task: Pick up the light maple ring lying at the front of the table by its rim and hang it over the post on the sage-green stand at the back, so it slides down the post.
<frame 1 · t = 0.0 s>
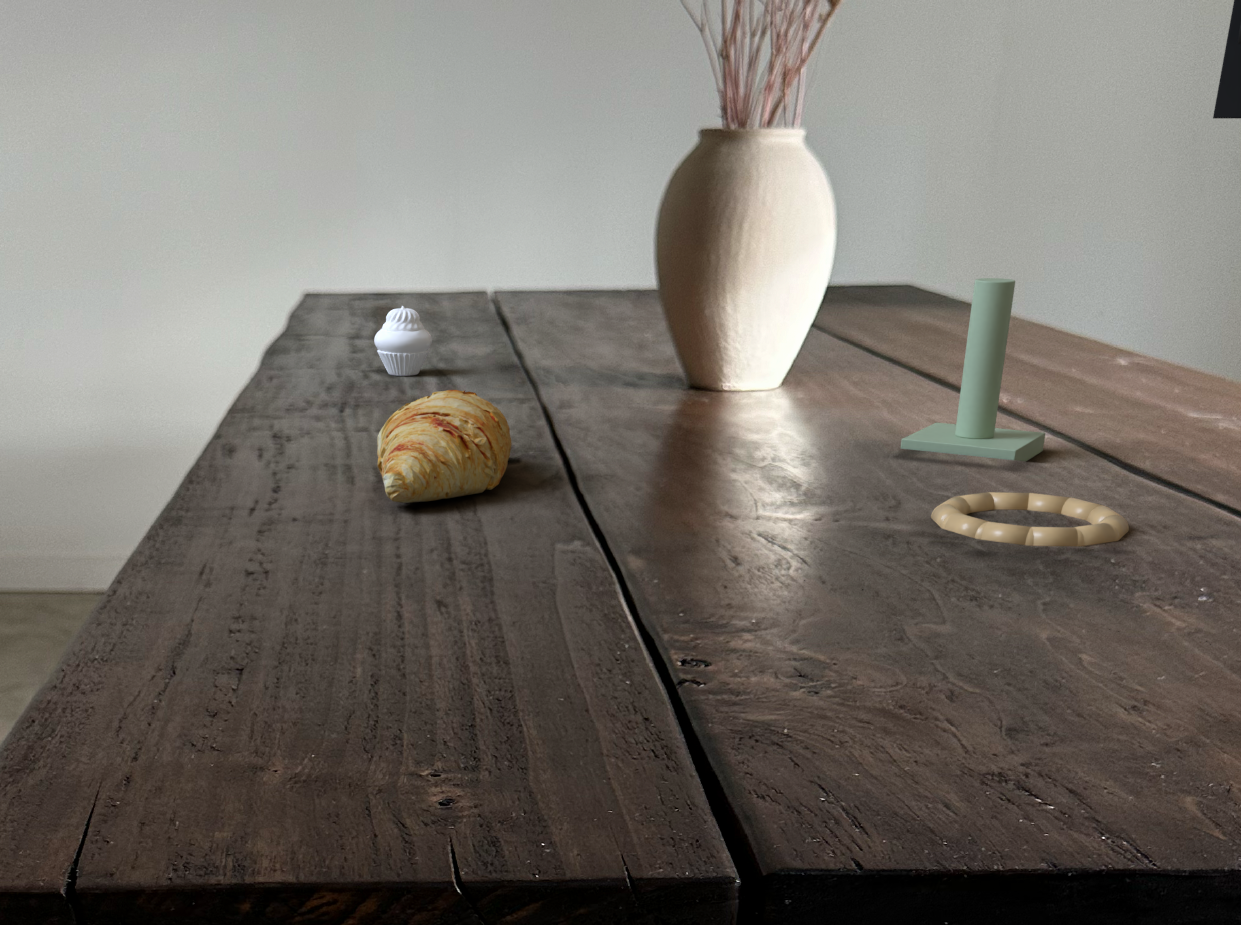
muffin: (403, 375, 171), on the table
ring: (1028, 523, 104), point 1 cm above the table
croissant: (441, 486, 120), on the table
post: (971, 454, 130), on the table
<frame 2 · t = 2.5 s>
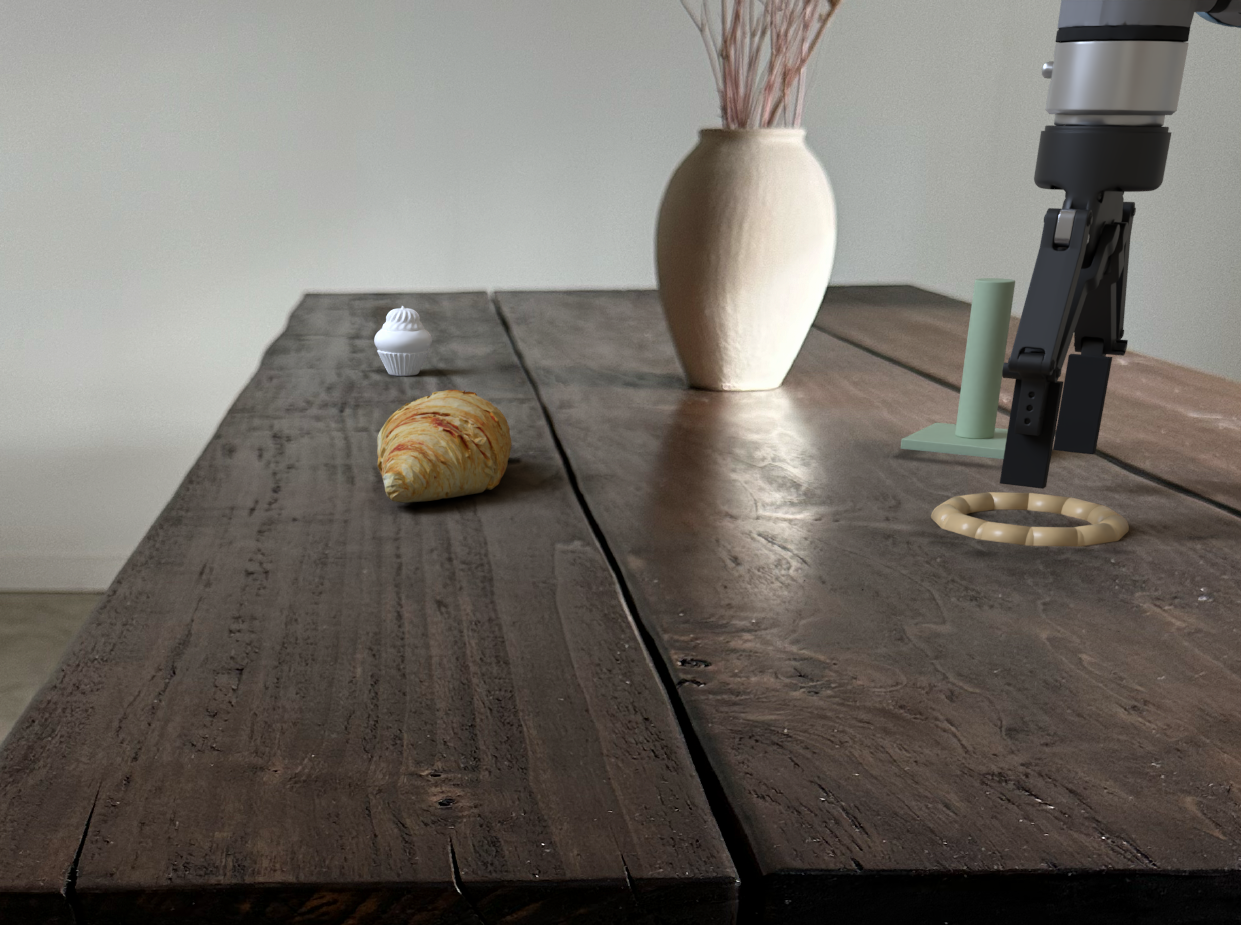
hand: (1049, 468, 107), 4 cm above the table, tool pointing down, fingers open, 13 cm apart
nothing on the table moved.
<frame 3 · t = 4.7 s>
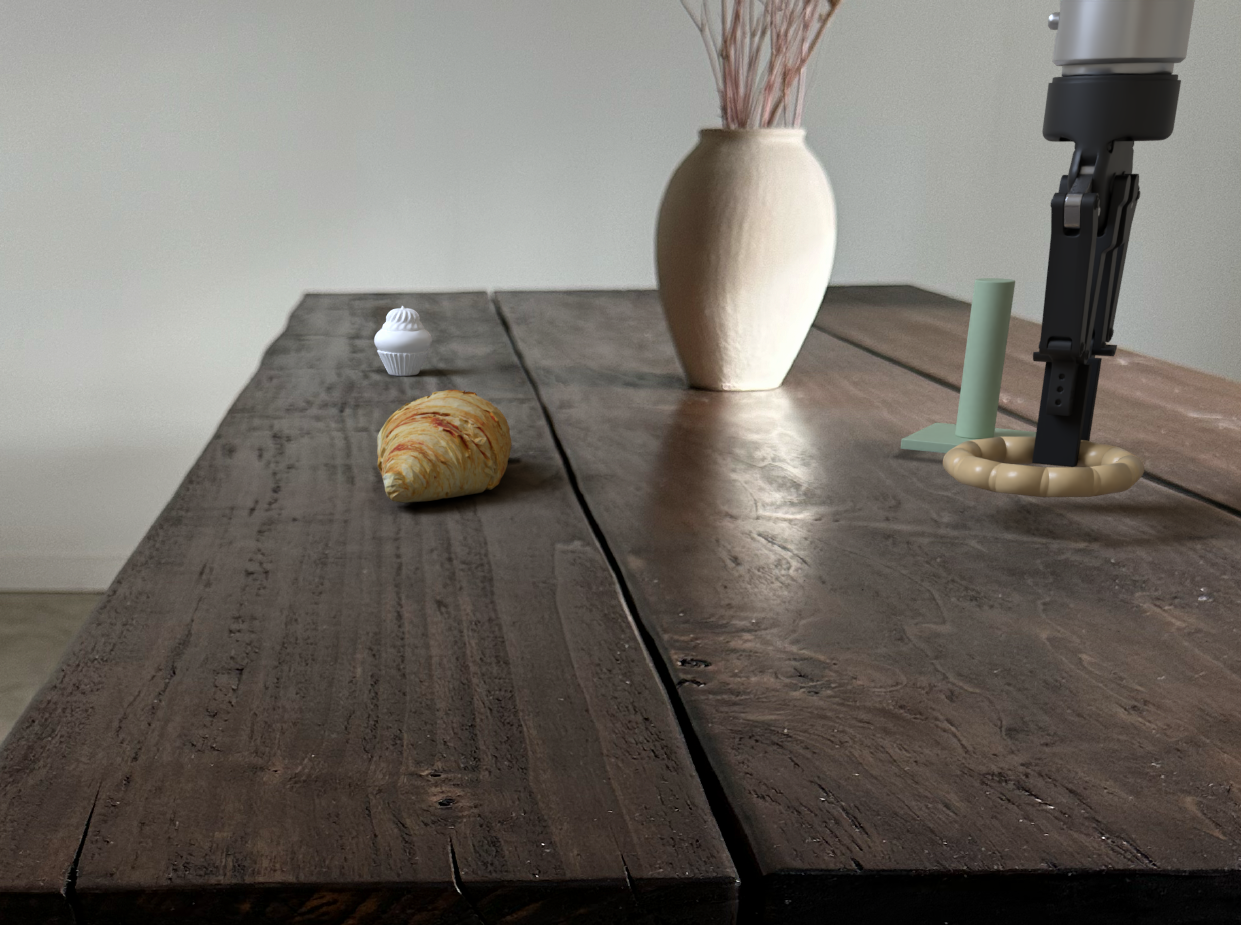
hand: (1059, 459, 106), 4 cm above the table, tool pointing down, fingers closed on ring, 2 cm apart
ring: (1041, 465, 102), point 5 cm above the table, touching gripper
everything else where it was.
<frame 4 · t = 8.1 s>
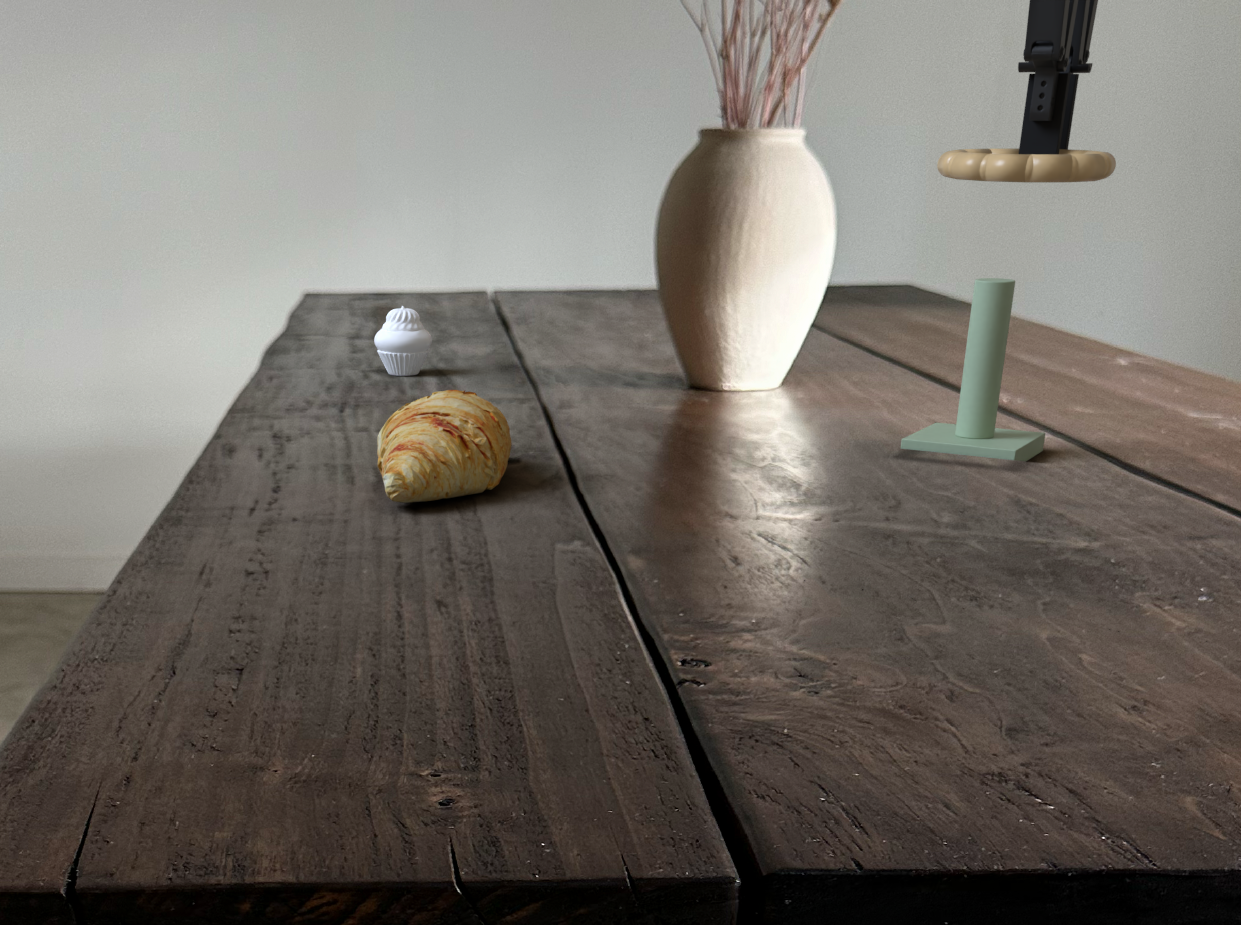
hand: (1040, 169, 119), 22 cm above the table, tool pointing down, fingers closed on ring, 2 cm apart
ring: (1025, 164, 115), point 22 cm above the table, touching gripper
everything else where it was.
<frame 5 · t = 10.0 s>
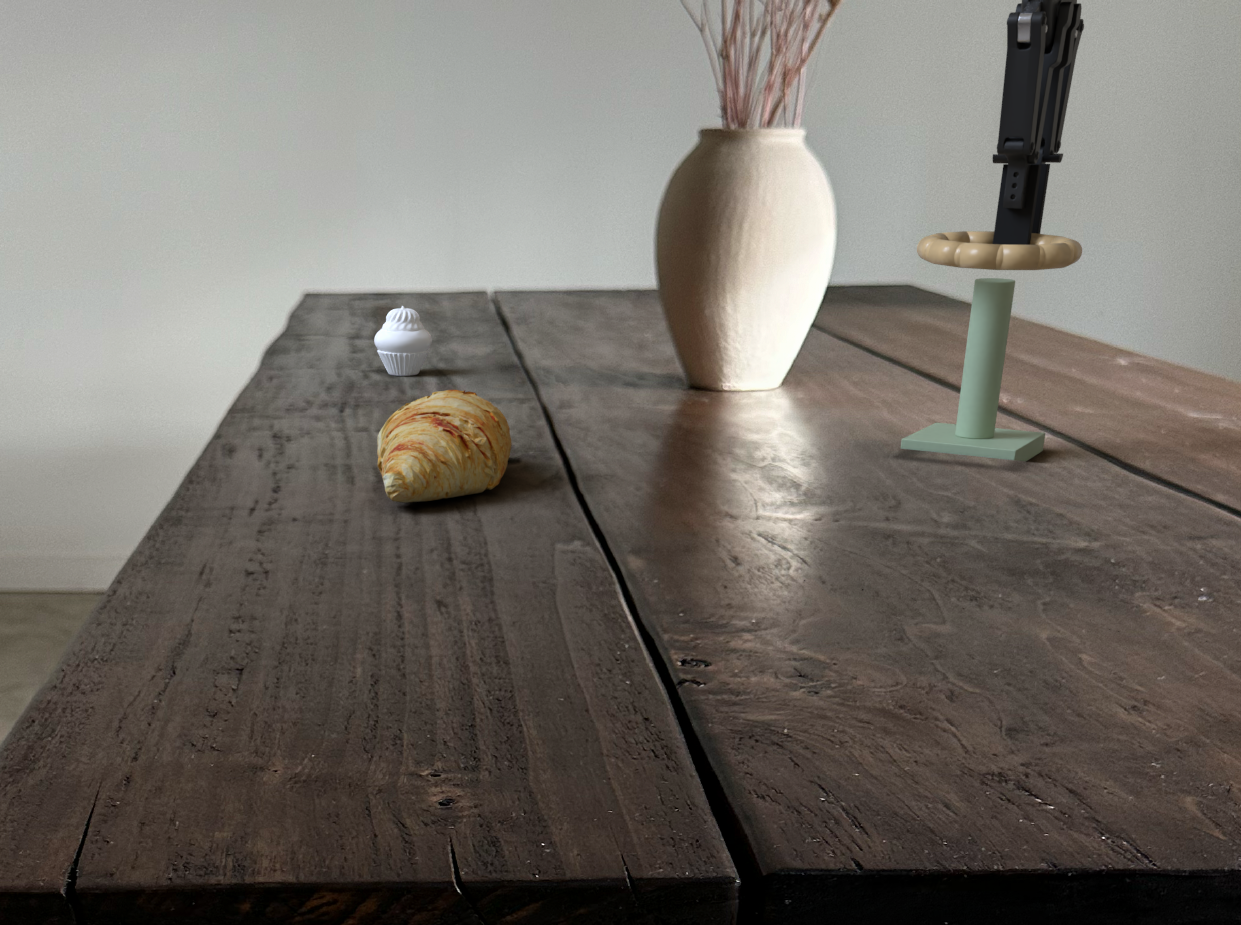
hand: (1014, 251, 127), 15 cm above the table, tool pointing down, fingers closed on ring, 2 cm apart
ring: (998, 250, 123), point 16 cm above the table, touching gripper
everything else where it was.
when the fingers open (11 cm above the table, at t = 11.6 s): ring drops 8 cm, resting on post.
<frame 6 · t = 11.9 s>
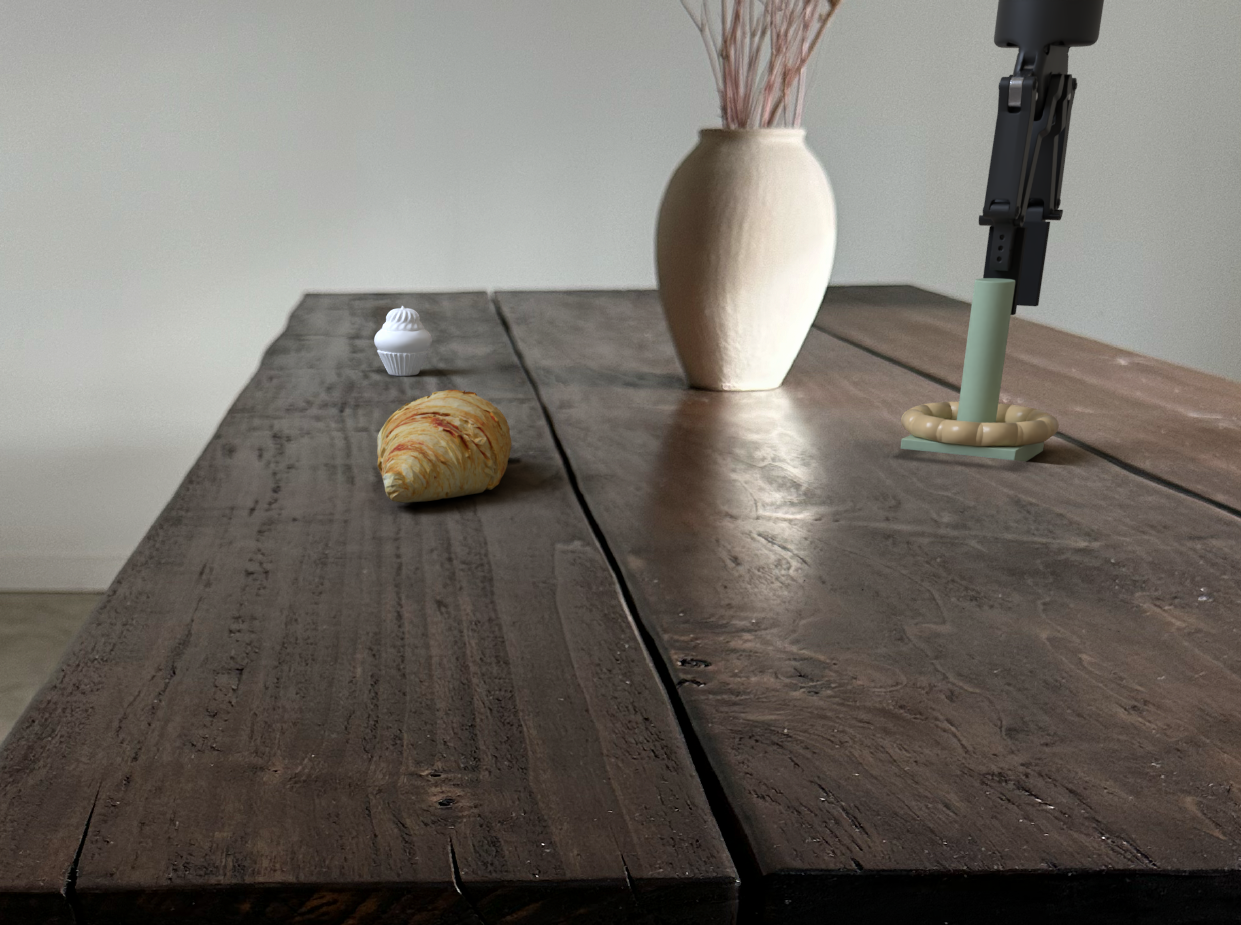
hand: (1009, 308, 129), 11 cm above the table, tool pointing down, fingers open, 6 cm apart
ring: (978, 423, 129), point 2 cm above the table, touching post
everything else where it was.
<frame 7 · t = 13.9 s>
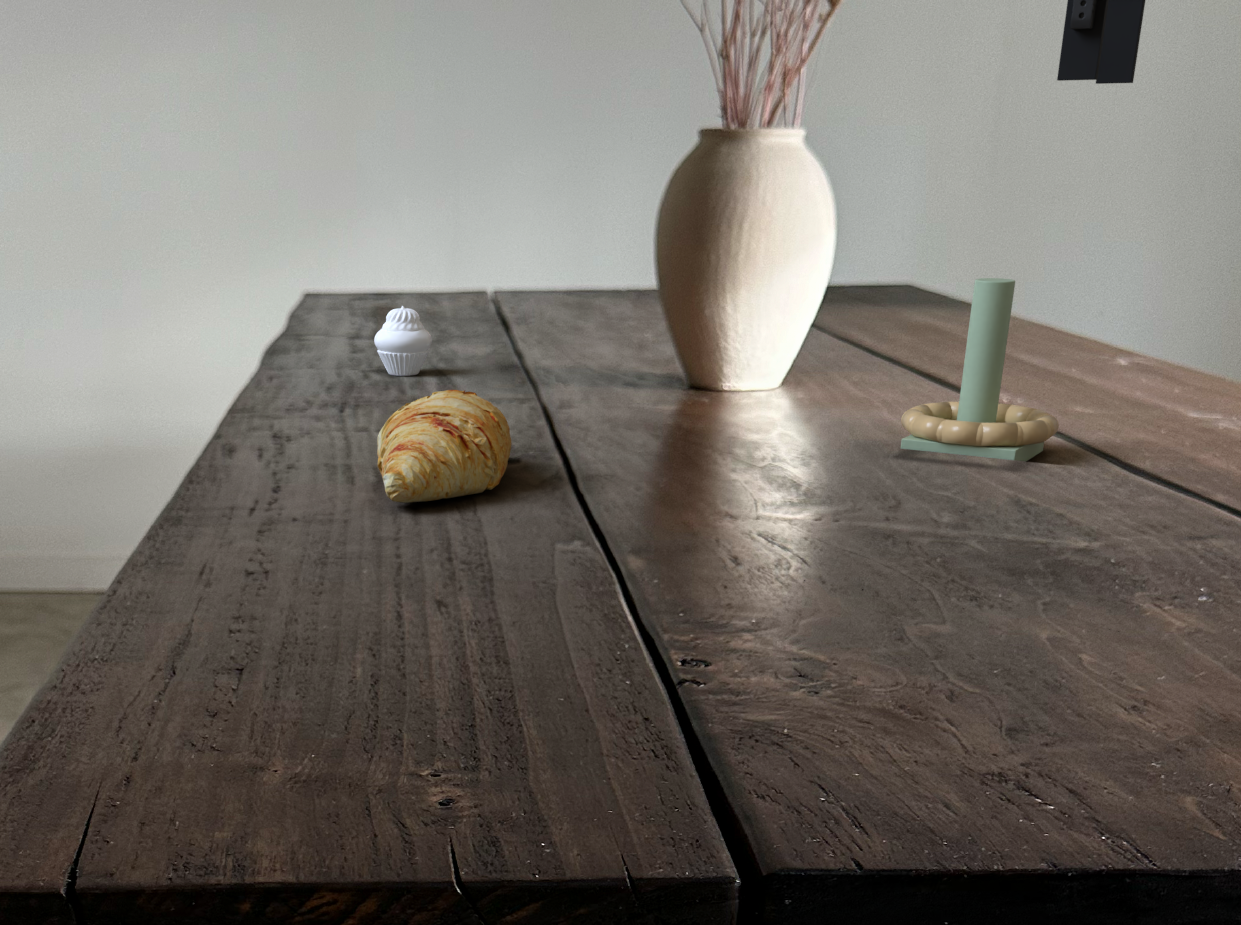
hand: (1096, 82, 124), 28 cm above the table, tool pointing down, fingers open, 13 cm apart
nothing on the table moved.
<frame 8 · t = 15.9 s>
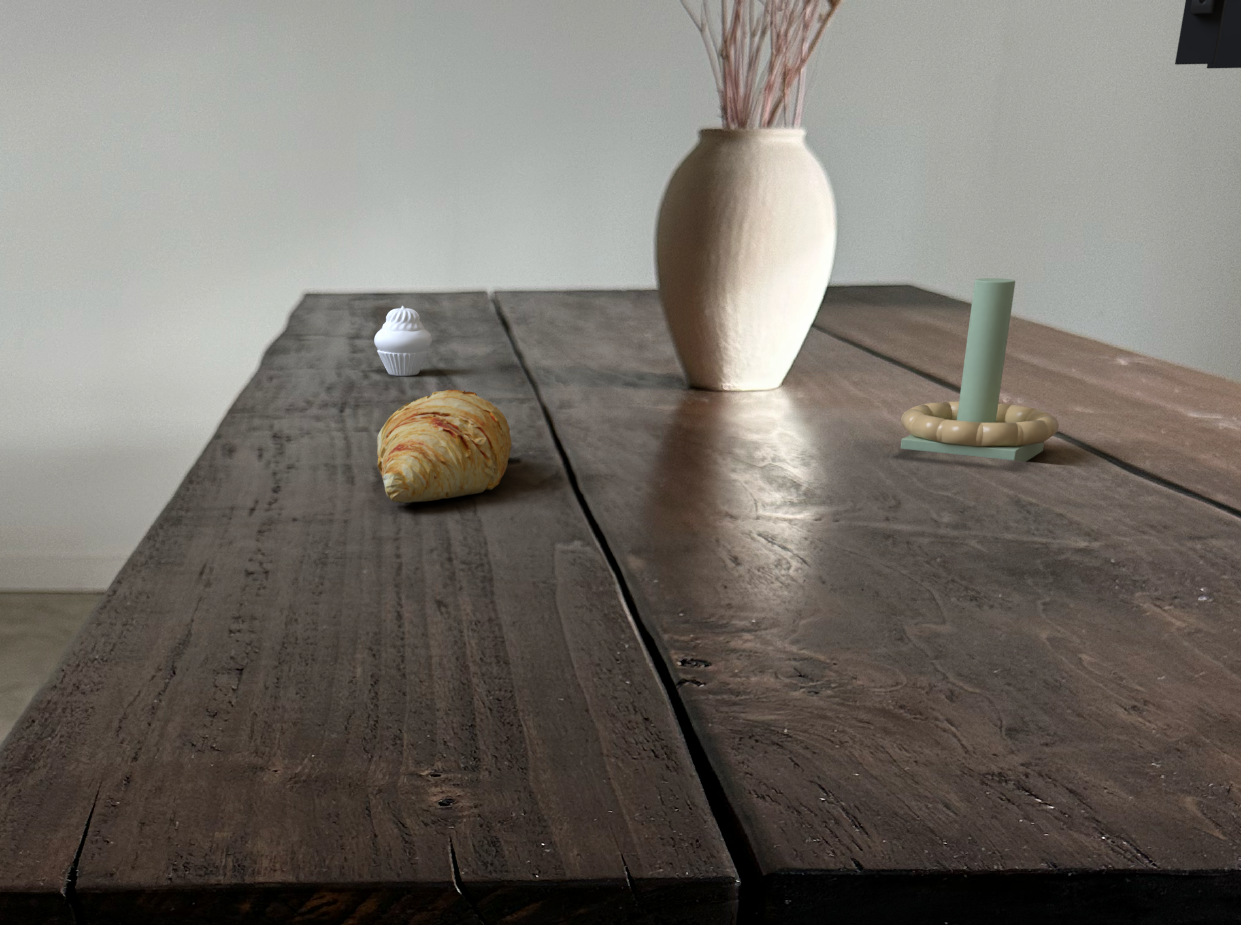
hand: (1210, 66, 126), 29 cm above the table, tool pointing down, fingers open, 13 cm apart
nothing on the table moved.
at the end: ring 0.7 cm from the post (horizontally); ring point 2.4 cm above the table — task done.
